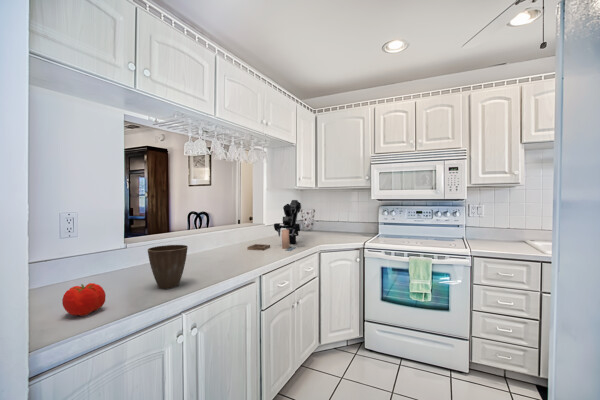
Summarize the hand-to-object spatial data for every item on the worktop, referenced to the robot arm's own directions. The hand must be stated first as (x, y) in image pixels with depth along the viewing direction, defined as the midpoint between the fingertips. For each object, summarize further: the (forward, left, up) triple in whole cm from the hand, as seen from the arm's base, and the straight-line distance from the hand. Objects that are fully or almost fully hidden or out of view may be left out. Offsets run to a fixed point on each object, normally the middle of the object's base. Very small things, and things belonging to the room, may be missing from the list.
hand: (285, 236), depth 194 cm
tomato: (+119, -25, -9) cm, 122 cm away
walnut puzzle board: (+5, -18, -9) cm, 21 cm away
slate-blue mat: (-1, 0, -9) cm, 9 cm away
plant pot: (+90, -19, -9) cm, 92 cm away
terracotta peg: (-1, 0, -8) cm, 9 cm away
